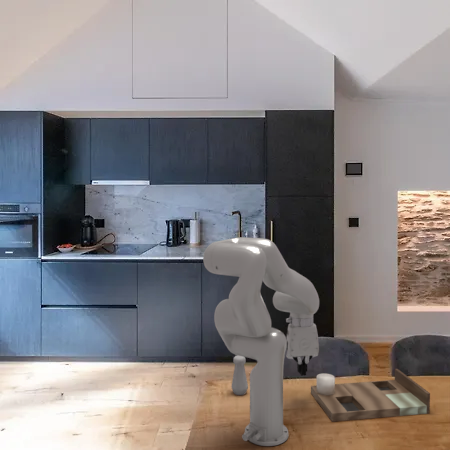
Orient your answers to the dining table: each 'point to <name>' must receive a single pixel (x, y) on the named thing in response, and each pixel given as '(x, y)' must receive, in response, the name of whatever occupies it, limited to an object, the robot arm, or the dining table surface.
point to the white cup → (325, 384)
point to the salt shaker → (239, 376)
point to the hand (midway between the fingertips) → (302, 373)
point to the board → (375, 399)
